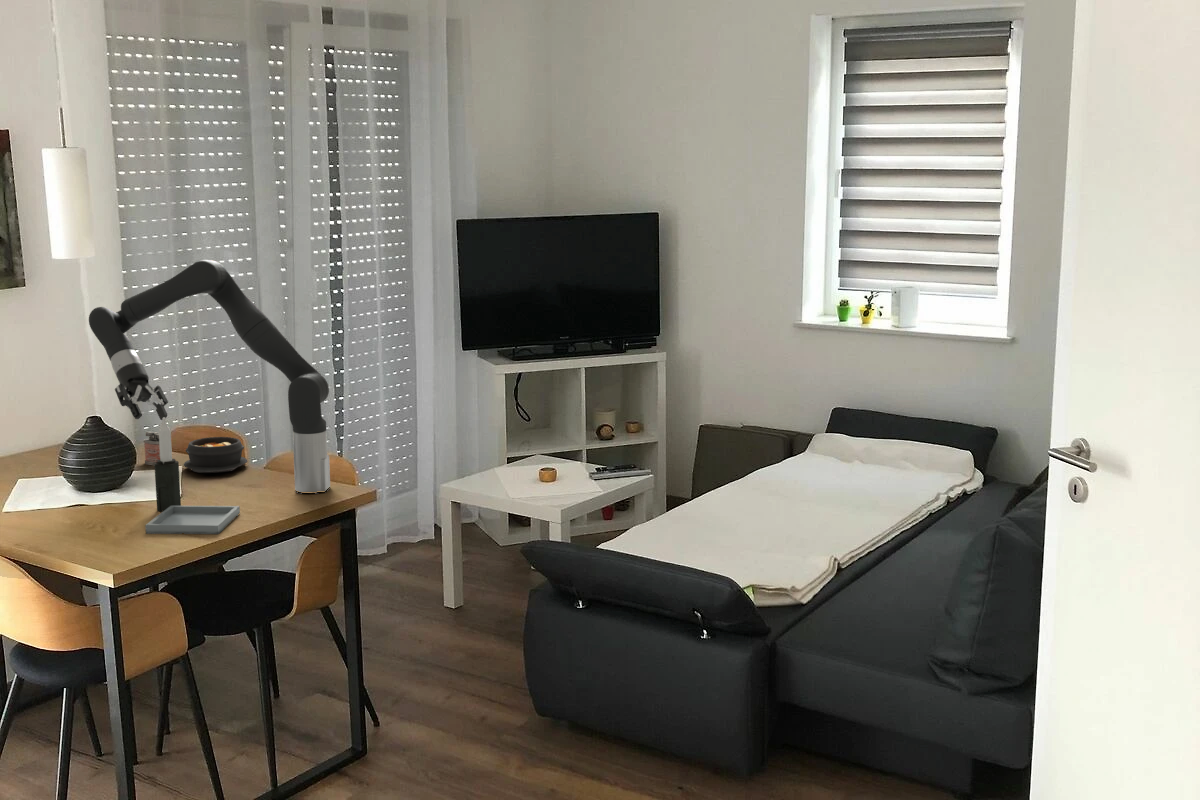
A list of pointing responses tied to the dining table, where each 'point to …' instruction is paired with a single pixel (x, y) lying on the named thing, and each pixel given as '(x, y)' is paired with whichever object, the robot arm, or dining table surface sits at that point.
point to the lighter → (152, 448)
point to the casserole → (215, 455)
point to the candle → (166, 472)
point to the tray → (192, 520)
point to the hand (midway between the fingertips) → (151, 418)
